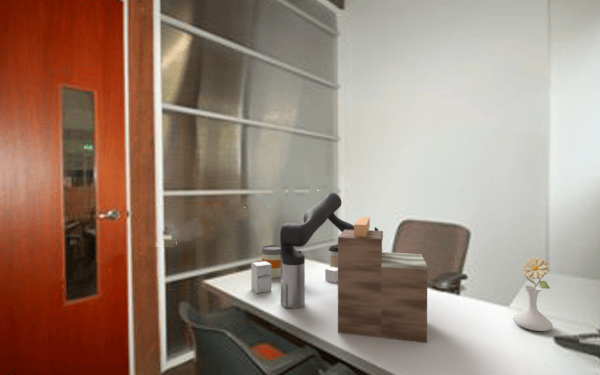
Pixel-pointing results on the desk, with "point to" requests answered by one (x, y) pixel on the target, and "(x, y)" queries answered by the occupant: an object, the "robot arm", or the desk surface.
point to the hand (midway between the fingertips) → (364, 229)
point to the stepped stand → (380, 290)
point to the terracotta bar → (362, 227)
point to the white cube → (331, 274)
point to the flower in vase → (534, 297)
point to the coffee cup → (333, 256)
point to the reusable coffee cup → (272, 258)
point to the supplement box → (261, 277)
